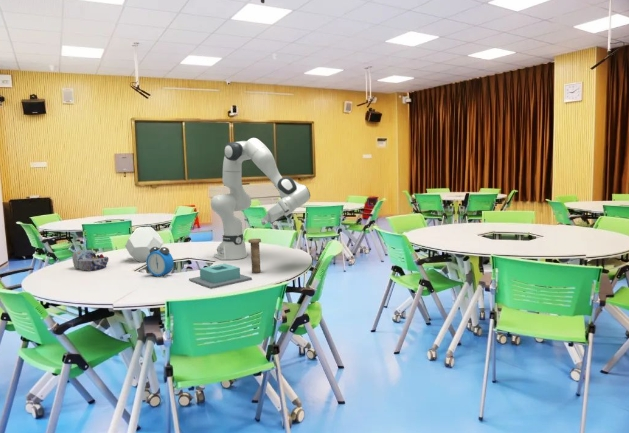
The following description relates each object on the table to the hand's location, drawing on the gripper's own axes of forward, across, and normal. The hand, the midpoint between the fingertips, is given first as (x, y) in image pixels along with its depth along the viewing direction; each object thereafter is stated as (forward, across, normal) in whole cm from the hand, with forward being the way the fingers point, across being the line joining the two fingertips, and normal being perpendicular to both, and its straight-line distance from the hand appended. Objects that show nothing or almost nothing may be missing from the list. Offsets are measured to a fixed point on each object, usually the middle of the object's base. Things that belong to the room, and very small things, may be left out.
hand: (261, 222), depth 234 cm
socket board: (+33, +6, +13) cm, 36 cm away
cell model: (+92, -38, -40) cm, 107 cm away
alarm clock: (+58, -11, -8) cm, 59 cm away
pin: (+17, -6, +19) cm, 26 cm away
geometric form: (+67, -53, -29) cm, 90 cm away
